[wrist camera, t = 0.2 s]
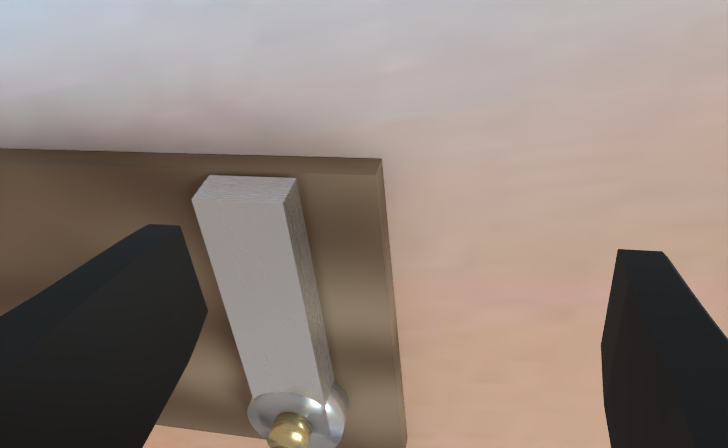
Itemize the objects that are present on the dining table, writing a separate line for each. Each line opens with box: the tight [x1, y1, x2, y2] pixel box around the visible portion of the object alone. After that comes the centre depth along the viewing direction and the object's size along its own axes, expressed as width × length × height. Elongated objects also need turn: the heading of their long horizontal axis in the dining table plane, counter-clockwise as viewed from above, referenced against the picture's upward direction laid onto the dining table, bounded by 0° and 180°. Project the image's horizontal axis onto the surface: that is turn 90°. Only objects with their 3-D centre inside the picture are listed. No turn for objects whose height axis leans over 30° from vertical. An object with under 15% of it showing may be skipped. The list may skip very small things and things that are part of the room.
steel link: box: [191, 175, 350, 448], centre depth 23 cm, size 13×4×2 cm, turn 5°
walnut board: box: [0, 149, 407, 448], centre depth 26 cm, size 15×20×4 cm
